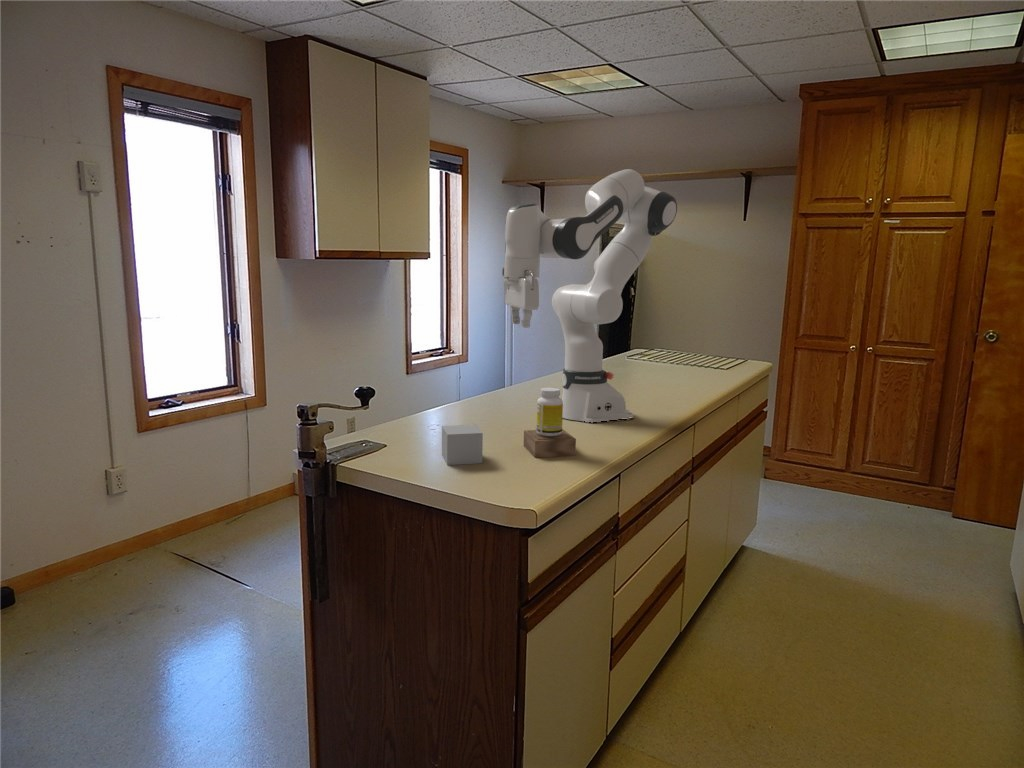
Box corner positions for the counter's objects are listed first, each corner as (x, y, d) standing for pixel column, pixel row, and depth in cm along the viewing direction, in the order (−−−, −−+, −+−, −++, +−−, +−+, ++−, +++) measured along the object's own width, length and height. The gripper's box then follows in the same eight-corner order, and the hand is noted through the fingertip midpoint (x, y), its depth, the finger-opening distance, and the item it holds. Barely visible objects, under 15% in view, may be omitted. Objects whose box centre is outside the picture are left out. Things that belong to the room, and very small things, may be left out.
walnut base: (561, 444, 166) (562, 428, 166) (575, 455, 157) (575, 438, 156) (523, 446, 164) (523, 429, 163) (534, 457, 154) (535, 440, 154)
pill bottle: (567, 434, 160) (568, 389, 158) (551, 438, 156) (552, 392, 154) (547, 429, 164) (548, 385, 162) (531, 433, 160) (532, 388, 158)
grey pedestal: (475, 453, 157) (475, 424, 156) (482, 463, 149) (482, 433, 148) (441, 454, 155) (441, 425, 154) (447, 465, 147) (447, 434, 146)
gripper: (546, 271, 156) (544, 329, 158) (523, 270, 175) (522, 322, 178) (520, 270, 154) (519, 329, 157) (500, 269, 174) (499, 322, 176)
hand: (520, 325), depth 168 cm, fingers open, 8 cm apart
